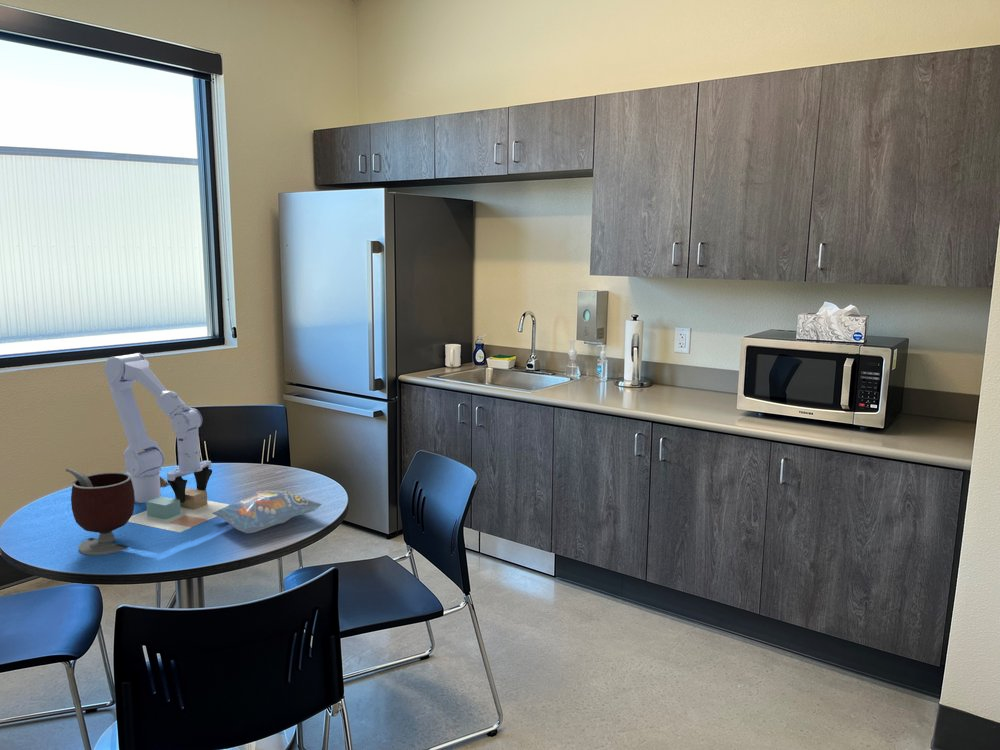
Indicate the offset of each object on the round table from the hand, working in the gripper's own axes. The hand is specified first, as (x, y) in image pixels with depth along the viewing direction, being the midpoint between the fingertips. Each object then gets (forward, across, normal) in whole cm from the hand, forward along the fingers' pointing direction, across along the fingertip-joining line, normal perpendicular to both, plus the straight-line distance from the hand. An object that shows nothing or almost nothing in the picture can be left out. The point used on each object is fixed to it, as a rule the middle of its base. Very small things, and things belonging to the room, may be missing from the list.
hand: (191, 497), depth 209 cm
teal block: (+2, -9, +1) cm, 9 cm away
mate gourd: (+4, -29, 0) cm, 29 cm away
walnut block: (+2, 0, 0) cm, 2 cm away
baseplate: (+3, -6, -2) cm, 7 cm away
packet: (+4, 0, -27) cm, 27 cm away
